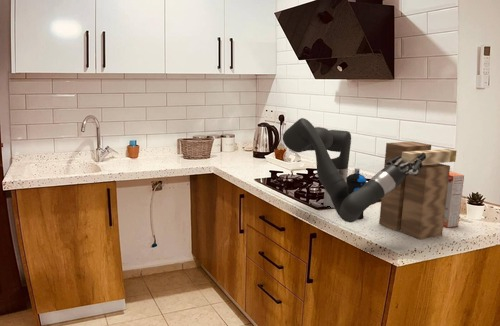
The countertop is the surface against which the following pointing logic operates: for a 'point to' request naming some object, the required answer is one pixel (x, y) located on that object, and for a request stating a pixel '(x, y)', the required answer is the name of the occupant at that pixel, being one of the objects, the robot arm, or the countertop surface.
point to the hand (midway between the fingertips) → (419, 153)
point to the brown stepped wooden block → (416, 196)
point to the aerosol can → (355, 183)
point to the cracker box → (453, 200)
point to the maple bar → (431, 156)
